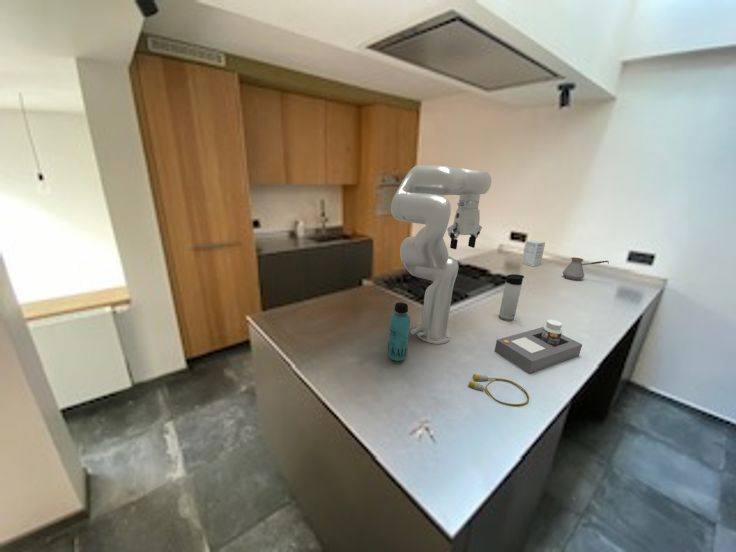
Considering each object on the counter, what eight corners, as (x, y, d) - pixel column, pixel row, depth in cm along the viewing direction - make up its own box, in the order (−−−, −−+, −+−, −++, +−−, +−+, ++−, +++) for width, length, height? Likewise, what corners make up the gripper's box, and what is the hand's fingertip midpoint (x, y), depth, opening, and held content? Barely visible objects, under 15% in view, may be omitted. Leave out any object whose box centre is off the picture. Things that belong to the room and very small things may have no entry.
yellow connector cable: (483, 369, 98) (485, 364, 97) (535, 396, 87) (536, 390, 86) (463, 385, 90) (464, 379, 90) (516, 416, 79) (518, 410, 79)
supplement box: (540, 265, 217) (546, 242, 212) (533, 266, 213) (538, 243, 207) (528, 261, 225) (533, 239, 220) (520, 263, 221) (525, 240, 215)
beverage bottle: (394, 351, 105) (398, 298, 99) (410, 359, 101) (416, 304, 95) (383, 359, 100) (386, 304, 94) (399, 367, 96) (404, 310, 90)
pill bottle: (547, 352, 107) (554, 327, 103) (535, 343, 112) (541, 319, 109) (560, 350, 108) (567, 325, 105) (547, 342, 113) (554, 318, 110)
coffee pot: (559, 278, 191) (565, 254, 186) (564, 274, 199) (569, 252, 194) (600, 287, 177) (608, 262, 172) (603, 283, 185) (611, 259, 180)
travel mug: (516, 322, 130) (526, 278, 123) (500, 320, 131) (509, 276, 125) (512, 316, 136) (522, 273, 129) (497, 314, 137) (505, 272, 130)
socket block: (529, 373, 96) (532, 360, 95) (494, 350, 108) (496, 338, 106) (578, 355, 107) (582, 343, 106) (542, 336, 119) (545, 325, 117)
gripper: (458, 206, 113) (452, 251, 118) (491, 206, 120) (484, 248, 126) (444, 204, 119) (439, 247, 125) (477, 204, 127) (471, 244, 132)
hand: (462, 247), depth 125 cm, fingers open, 9 cm apart
